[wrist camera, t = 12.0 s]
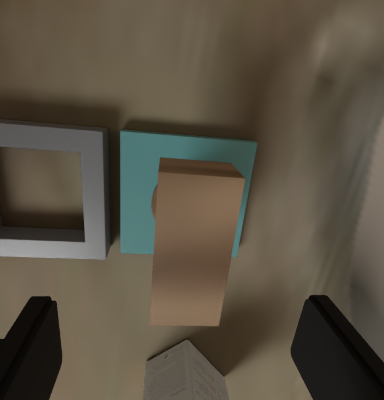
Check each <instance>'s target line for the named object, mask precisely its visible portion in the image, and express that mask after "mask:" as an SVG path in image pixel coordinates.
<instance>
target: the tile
mask: <svg viewBox="0 0 384 400" xmlns="http://www.w3.org/2000/svg"><path fill="white" fill-rule="evenodd" d="M256 149H257V142H255V141H253V140H242V139H230V138H218V137H206V136H195V135H183V134H171V133H160V132H148V131H136V130H124V129H122V130H121V131H120V246H121V253H135V254H154V238H155V219H154V217H153V214H152V209H151V202H152V195H153V192H154V189H155V187H156V185H157V184H158V170H159V161H160V157H164V158H176V159H189V160H201V161H214V162H226V163H232V164H233V166H234V167H235V168H236V169H237V170H238V171H239V172H240V173H241V174H242V175H243V177H244V178H245V183H244V189H243V194H242V200H241V205H240V211H239V217H238V222H237V228H236V233H235V239H234V244H233V250H232V255H231V257H237V253H238V247H239V242H240V236H241V231H242V225H243V220H244V214H245V209H246V203H247V198H248V192H249V187H250V182H251V176H252V171H253V165H254V160H255V154H256Z"/></svg>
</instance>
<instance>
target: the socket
mask: <svg viewBox="0 0 384 400" xmlns="http://www.w3.org/2000/svg"><path fill="white" fill-rule="evenodd" d="M0 147H13V148H27V149H40V150H54V151H67V152H80V159H81V177H82V194H83V212H84V229H85V230H78V229H54V228H31V227H8V226H3V224H2V219H1V213H0V256H11V257H42V258H74V259H106V257H107V255H108V252H109V249H110V247H111V239H110V183H109V128H101V127H89V126H78V125H66V124H54V123H42V122H31V121H19V120H7V119H0Z"/></svg>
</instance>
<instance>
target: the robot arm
mask: <svg viewBox="0 0 384 400" xmlns="http://www.w3.org/2000/svg"><path fill="white" fill-rule="evenodd" d="M291 356H292V359H293V361H294V363H295V365H296V367H297V369H298V371H299V373H300V375H301V377H302V379H303V381H304V383H305V385H306V386H307V388H308V390H309V392H310V394H311V396H312V398H313V400H384V362H383V361H382V360H381V359H380V358H379V357H378V356H377V354H376V353H375V352H374V351H373V349H372V348H371V347H370V346H369V345H368V343H367V342H366V341H365V340H364V339H363V338H362V336H361V335H360V334H359V333H358V332H357V331H356V329H355V328H354V327H353V326H352V325H351V323H350V322H349V321H348V320H347V319H346V317H345V316H344V315H343V314H342V313H341V311H340V310H339V309H338V308H337V307H336V306H335V304H334V303H333V302H332V301H331V300H330V298H329V297H328V296H326V295H311V296H309V298H308V299H306V300H305V303H304V306H303V309H302V313H301V316H300V319H299V323H298V326H297V329H296V333H295V336H294V339H293V342H292V346H291ZM61 364H62V349H61V339H60V330H59V320H58V311H57V302H56V301H52V300H51V297H50V296H32V297H31V298H30V299H29V300H28V302H27V304H26V305H25V307H24V308H23V310H22V311H21V313H20V315H19V316H18V318H17V319H16V321H15V322H14V324H13V326H12V327H11V329H10V330H9V332H8V333H7V335H6V337H5V338H4V339H0V400H49V398H50V395H51V393H52V390H53V387H54V384H55V381H56V379H57V376H58V373H59V370H60V367H61Z"/></svg>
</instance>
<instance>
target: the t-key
mask: <svg viewBox="0 0 384 400" xmlns="http://www.w3.org/2000/svg"><path fill="white" fill-rule="evenodd" d="M244 183H245V178H244V177H243V175H242V174H241V173H240V172H239V171H238V170H237V169H236V168H235V167H234V166H233V164H232V163H226V162H214V161H201V160H189V159H176V158H164V157H160V161H159V170H158V184H157V185H156V187H155V189H154V192H153V195H152V202H151V209H152V214H153V217H154V219H155V238H154V256H153V273H152V291H151V309H150V326H219V322H220V317H221V311H222V305H223V300H224V294H225V289H226V283H227V278H228V272H229V267H230V261H231V255H232V250H233V244H234V239H235V233H236V228H237V222H238V217H239V211H240V205H241V200H242V194H243V189H244Z"/></svg>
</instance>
